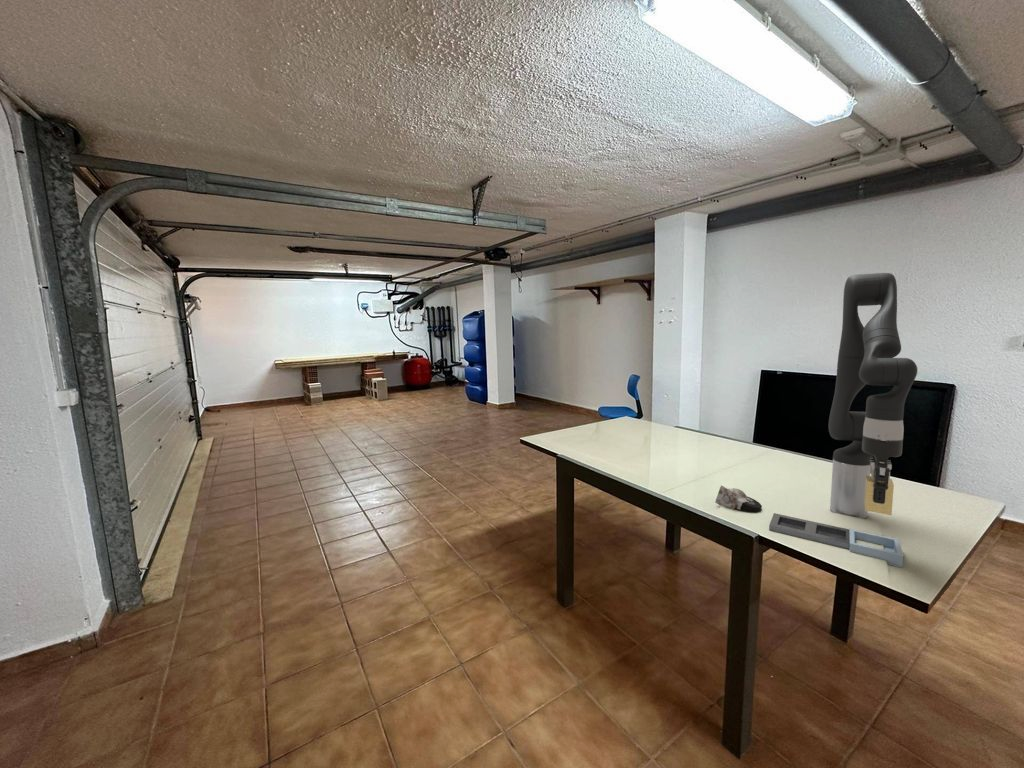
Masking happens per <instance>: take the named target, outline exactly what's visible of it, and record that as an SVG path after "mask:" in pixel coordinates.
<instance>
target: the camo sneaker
mask: <svg viewBox="0 0 1024 768" xmlns="http://www.w3.org/2000/svg"><path fill="white" fill-rule="evenodd" d="M715 504H717V505H718V506H719V507H720V506H721V507H724V508H727V509H730V510H731V511H735V509H737V510H739V511H743V512H746V513H753V514H754V513H758V512H759V513H760V512H761V511H762V507H763V505H762V504H761V503H760V502H759V501H758V500H756V499H755V498H753V497H750V496H747V495H746V493H745V492H744V491H743V490H742V489H740V488H736V487H733V488H732V487H731V488H727V487H725V486H723V485H720V487H719V491H718V492H717V496H716V499H715Z"/></svg>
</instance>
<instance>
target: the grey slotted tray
mask: <svg viewBox="0 0 1024 768" xmlns="http://www.w3.org/2000/svg"><path fill="white" fill-rule="evenodd" d="M768 526H769V527H768V530H769V531H770V532H776V533H780V534H784V535H788V536H792V537H795V538H796V537H797V538H799V539H800V538H801V539H804V540H805V539H806V540H809V541H813V542H816V543H821V544H826V545H829V546H833V547H837V548H840V549H841V548H842V549H847V550H849V547H850V536H849V529H850V528H849V529H848V528H845V527H841V526H835V525H831V524H826V523H823V522H818V521H813V520H808V519H803V518H799V517H794V516H789V515H785V514H784V515H783V514H780V513H776V512H774V513H773V514H772V517H771V520H770V523H769V525H768Z"/></svg>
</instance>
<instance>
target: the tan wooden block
mask: <svg viewBox="0 0 1024 768" xmlns="http://www.w3.org/2000/svg"><path fill="white" fill-rule="evenodd" d="M877 483H878V484H884V481H877ZM873 484H874V479H872V478H871V475H870V476H866V484H865V499H864V507H865V511H868V512H871V513H876V514H881V515H887V516H892V514H893V513H892V512H893V502H894V500H893V499H894V487H895V486H894V485H895V484H894V482H893V479H892V478H890V480H889V481H888V489H887V490H886V494H885V503H884V504H880V503H875V502H873V492H874V488H873Z"/></svg>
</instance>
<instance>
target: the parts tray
mask: <svg viewBox="0 0 1024 768" xmlns="http://www.w3.org/2000/svg"><path fill="white" fill-rule="evenodd" d="M849 536H850V547H849V549H848V550H849V552H853V553H856V554H860V555H863V556H869V557H872V558H877V559H880V560H885V561H886V564H887V565H888V566H889V565H890V566H894V567H898V568H903V563H904V554H903V550H902V545H901V542H900V538H899V539H898V538H896V537H895V538H894V537H889V536H885V535H879V534H876V533H871V532H865V531H861V530H858V529H857V530H856V529H851V528H849ZM856 540H860V541H863V542H868V543H872V544H876V545H881V546H882V547H883V549H882V548H877V547H874V546H870V545H866V544H865V545H864V544H860V543H857V542H856Z"/></svg>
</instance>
